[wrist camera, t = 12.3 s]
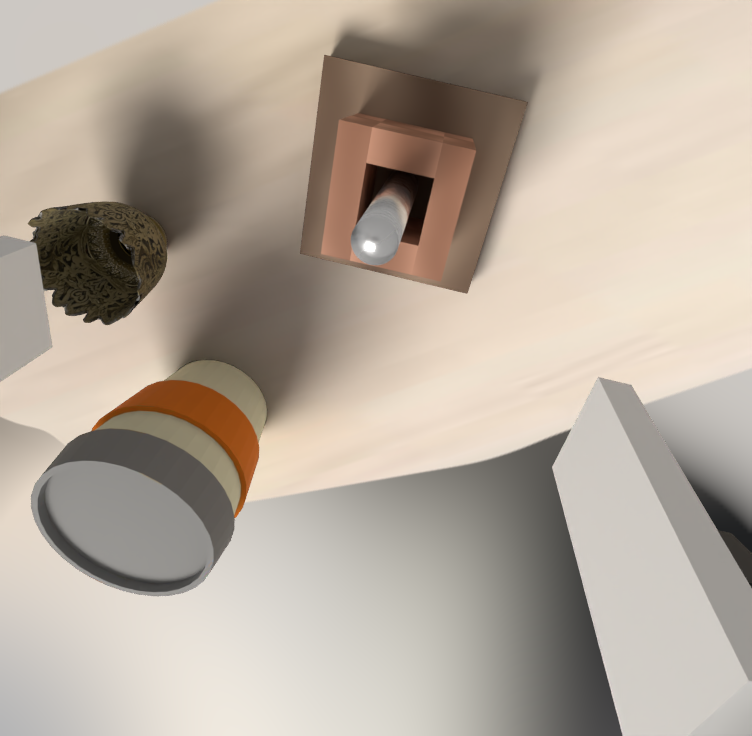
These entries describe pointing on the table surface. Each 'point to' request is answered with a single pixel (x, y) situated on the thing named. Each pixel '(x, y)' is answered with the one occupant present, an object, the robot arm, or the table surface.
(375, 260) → the silver metal rod
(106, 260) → the cup
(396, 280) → the table surface
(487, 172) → the brown square board
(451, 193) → the brown open box
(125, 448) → the reusable coffee cup
